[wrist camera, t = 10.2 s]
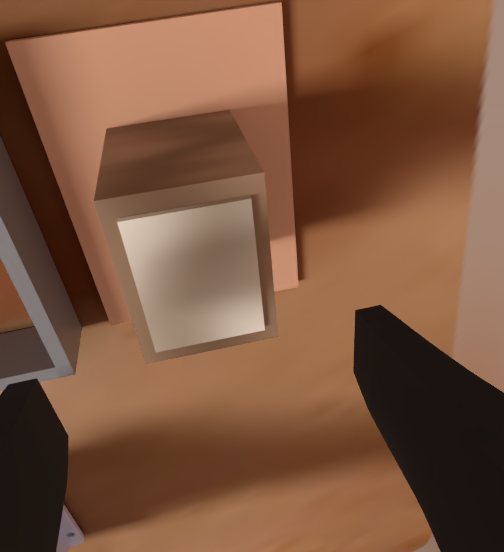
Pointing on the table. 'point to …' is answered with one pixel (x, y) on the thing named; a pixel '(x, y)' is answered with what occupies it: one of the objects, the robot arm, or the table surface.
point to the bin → (33, 292)
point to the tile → (160, 110)
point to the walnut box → (188, 233)
